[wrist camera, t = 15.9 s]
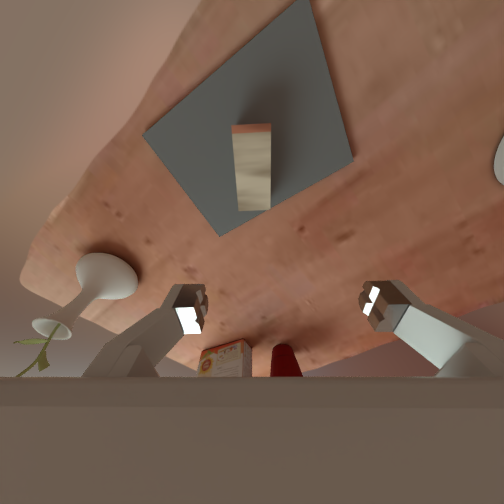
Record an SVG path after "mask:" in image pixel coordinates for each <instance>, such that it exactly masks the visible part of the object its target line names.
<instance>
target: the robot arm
mask: <svg viewBox="0 0 504 504" xmlns="http://www.w3.org/2000/svg"><path fill="white" fill-rule="evenodd" d="M494 172H495V176H496V178H497V179H498V181H499V182H500V183H501V184H503V185H504V137H503V138H502V140H501V142H500V144H499V147H498V149H497V152H496V156H495V160H494ZM363 289H364V291H363V292H361V293H360V295H359V298H358V300H359V306H360V308H361V310H362V312H363V313H365V314H366V315H368V319H367V320H368V321H369V323H370V325H371V326H372V328H373V329H374V331H375V332H394V334H396V335H397V336H398V337H400V338H401V339H402V340H403V341H405V342H406V343H407V344H409V345H410V346H411V347H413V348H414V349H415V350H416V351H417V352H419V353H420V354H421V355H423V356H424V357H425V358H426V359H428V360H429V361H430V362H432V363H433V364H434V365H435V366H437V367H438V368H439V369H440V370H439V371H438V372H437V373H436V374H435V375H434V377H160V376H159V374H158V373H157V371H156V370H155V368H154V367H155V366H156V365H157V364H158V363H159V362H160V361H161V360H162V359H163V357H164V356H165V355H166V354H167V353H168V352H169V351H170V350H171V349H172V348H173V347H174V345H175V344H176V343H177V342H178V341H179V340H180V339H181V338H182V337H183V336H184V334H193V333H201V332H202V329H203V325H204V322H205V321H204V316H205V315H206V314H207V311H208V297H207V295H205V291H206V288H205V285H204V284H175V285H173V286H172V288H171V290H170V291H169V293H168V295H167V297H166V298H165V300H164V302H163V304H162V305H161V307H160V308H157V309H155V310H154V311H152V312H151V313H150V314H148V315H147V316H145V317H144V318H142V319H141V320H139V321H138V322H137V323H135V324H134V325H132V326H131V327H129V328H128V329H126V330H125V331H124V332H122V333H121V334H119V335H118V336H116V337H115V338H113V339H112V340H111V341H109V342H108V343H106V344H105V345H104V346H103V348H102V349H101V351H100V352H99V353H98V355H97V356H96V357H95V359H94V360H93V361H92V363H91V364H90V365H89V367H88V368H87V369H86V371H85V372H84V373H83V375H82V376H81V377H0V504H504V340H501V339H499V338H497V337H495V336H493V335H491V334H489V333H487V332H485V331H483V330H481V329H479V328H477V327H475V326H472V325H470V324H468V323H466V322H464V321H462V320H460V319H458V318H456V317H454V316H452V315H450V314H448V313H446V312H444V311H442V310H439V309H437V308H435V307H433V306H431V305H426V304H425V303H423V302H422V301H421V300H420V299H419V298H418V297H417V296H416V295H415V294H414V293H413V292H412V291H411V290H410V289H409V288H408V287H407V286H406V285H405V284H404V283H403V282H401V281H399V280H387V281H366V282H365V283H364V284H363Z"/></svg>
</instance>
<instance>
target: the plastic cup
mask: <svg viewBox="0 0 504 504" xmlns="http://www.w3.org/2000/svg"><path fill="white" fill-rule="evenodd" d="M270 377H303V375H302V373H301V370H300V367H299V365H298V362H297V360H296V357H295V355H294V352H293V350H292V348H291V347H290V346H289V345H285V344H281V345H277V346H275V347H274V348H273V351H272V360H271V373H270Z"/></svg>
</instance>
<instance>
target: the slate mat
mask: <svg viewBox="0 0 504 504" xmlns="http://www.w3.org/2000/svg"><path fill="white" fill-rule="evenodd" d="M264 123H271V201H270V208H272V207H274V206H275V205H277V204H279V203H281V202H282V201H284V200H286V199H288V198H290V197H291V196H293V195H295V194H297V193H298V192H300V191H302V190H304V189H306V188H307V187H309V186H311V185H313V184H314V183H316V182H318V181H320V180H322V179H323V178H325V177H327V176H329V175H330V174H332V173H334V172H336V171H337V170H339V169H341V168H343V167H345V166H346V165H348V164H350V163H352V162H353V157H352V153H351V150H350V146H349V142H348V139H347V135H346V132H345V128H344V124H343V121H342V117H341V113H340V110H339V106H338V103H337V99H336V95H335V92H334V88H333V85H332V81H331V77H330V74H329V70H328V66H327V63H326V59H325V56H324V52H323V48H322V45H321V41H320V37H319V34H318V30H317V27H316V23H315V19H314V16H313V12H312V8H311V5H310V1H309V0H296V1H295V2H294V3H293V4H292V5H291V6H289V7H288V8H287V9H286V10H285V11H284V12H283V13H281V14H280V15H279V16H278V17H277V18H276V19H275V20H273V21H272V22H271V23H270V24H269V25H268V26H267V27H265V28H264V29H263V30H262V31H261V32H260V33H259V34H257V35H256V36H255V37H254V38H253V39H252V40H251V41H249V42H248V43H247V44H246V45H245V46H244V47H243V48H241V49H240V50H239V51H238V52H237V53H236V54H235V55H233V56H232V57H231V58H230V59H229V60H228V61H226V62H225V63H224V64H223V65H222V66H221V67H220V68H218V69H217V70H216V71H215V72H214V73H213V74H212V75H210V76H209V77H208V78H207V79H206V80H205V81H204V82H202V83H201V84H200V85H199V86H198V87H197V88H196V89H194V90H193V91H192V92H191V93H190V94H189V95H188V96H186V97H185V98H184V99H183V100H182V101H181V102H180V103H178V104H177V105H176V106H175V107H174V108H173V109H172V110H170V111H169V112H168V113H167V114H166V115H165V116H164V117H162V118H161V119H160V120H159V121H158V122H157V123H156V124H154V125H153V126H152V127H151V128H150V129H149V130H147V131H146V132H145V133H144V134H143V135H142V136H143V137H144V139H145V140H146V141H147V143H148V144H149V145H150V146H151V148H152V149H153V150H154V152H155V153H156V154H157V156H158V157H159V158H160V160H161V161H162V162H163V163H164V165H165V166H166V167H167V169H168V170H169V171H170V173H171V174H172V175H173V177H174V178H175V179H176V181H177V182H178V183H179V184H180V186H181V187H182V188H183V190H184V191H185V192H186V194H187V195H188V196H189V198H190V199H191V200H192V201H193V203H194V204H195V205H196V207H197V208H198V209H199V211H200V212H201V213H202V215H203V216H204V217H205V218H206V220H207V221H208V222H209V224H210V225H211V226H212V228H213V229H214V230H215V232H216V233H217V234H218V235H219V237H220V236H222V235H224V234H226V233H227V232H229V231H231V230H233V229H234V228H236V227H238V226H240V225H242V224H243V223H245V222H247V221H249V220H250V219H252V218H254V217H256V216H258V215H259V214H261V213H263V212H265V211H266V210H254V211H239V210H238V199H237V187H236V175H235V164H234V152H233V141H232V129H231V125H246V124H264Z"/></svg>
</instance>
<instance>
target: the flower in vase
mask: <svg viewBox="0 0 504 504" xmlns="http://www.w3.org/2000/svg"><path fill="white" fill-rule="evenodd" d="M76 275H77V279H78V281H79V283H80V285H81V287H82V291H81V293H80V294H79V295H78V296H77V297H76V298H75V299H74V300H73V301H71V302H70V303H69V304H67V305H66V306H65V307H63V308H62V309H60V310H58V311H57V312H55V313H53V314H51V315H48V316H44V317H40V318H37V319H35V320H33V321H32V326H33V327H34V329H35V330H36V331H37V332H39V333H40V334H42V335H44V336H46V337H49V338H48V340H46V339H27V340H23V341H16V342H14V343H17V342H18V343H21V344H39V343H45V342H46V343H45V345H44V347H43V349H42V351H41V352H40V354H39V356H38V357H37V359H36V360H35V361H34V362H33V363H32V364H31V365H30V366H29V367H28V368H27V369H25V370H24V371H23V372H21V373H20V374H18V375H17V376H16V377H20V376H21V375H23V374H24V373H25V372H27V371H28V370H29V369H31V368H32V367H33V366H34V365H35V364H36V363H37V362H38V367H39V371H42V370H43V369H45V368H47V367H48V366H50V364H49V363H48V361H47V358H46V351H45V349H46V347H47V346H48V344H49V342H50V340H51V338H52V339H57V340H66V339H69V338H70V337H71V335H72V328H73V325H74V323H75V321H76V319H77V318H78V316H79V315H80V314H81V313H82V311H83V310H84V309H85V308H86V307H87V306H88V305H89V304H90V303H91V302H93V301H94V300H96V299H99V298H102V299H121V298H126V297H128V296H130V295H131V294H133V293H134V292H135V291H136V290H137V288H138V278H137V275H136V273H135V271H134V270H133V269H132V267H131V266H130V265H129V264H127V263H126V262H125V261H123V260H122V259H120V258H118V257H116V256H113V255H110V254H106V253H89V254H86V255H84V256H82V257H81V258H80V259H79V261H78V263H77V265H76Z"/></svg>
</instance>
